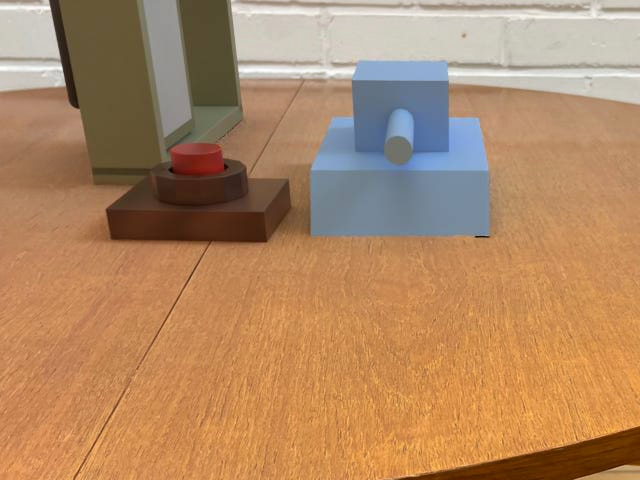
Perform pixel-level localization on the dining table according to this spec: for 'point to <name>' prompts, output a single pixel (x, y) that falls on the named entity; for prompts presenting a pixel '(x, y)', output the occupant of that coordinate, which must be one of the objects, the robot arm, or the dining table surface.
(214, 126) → the window frame
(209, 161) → the button
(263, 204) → the button block
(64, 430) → the dining table surface
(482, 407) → the dining table surface
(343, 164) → the toy tank
